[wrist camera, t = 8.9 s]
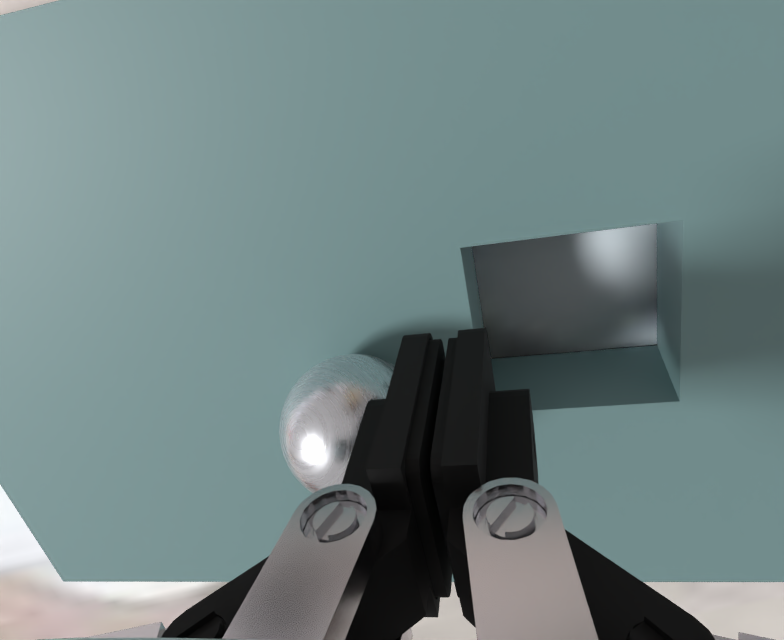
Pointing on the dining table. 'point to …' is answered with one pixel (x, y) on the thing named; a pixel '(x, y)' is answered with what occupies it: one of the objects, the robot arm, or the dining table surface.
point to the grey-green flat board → (381, 258)
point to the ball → (329, 416)
